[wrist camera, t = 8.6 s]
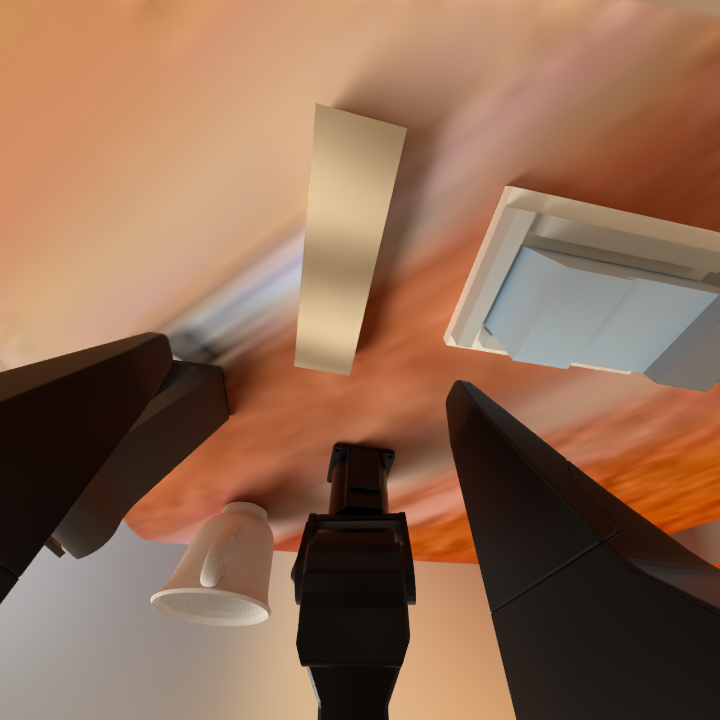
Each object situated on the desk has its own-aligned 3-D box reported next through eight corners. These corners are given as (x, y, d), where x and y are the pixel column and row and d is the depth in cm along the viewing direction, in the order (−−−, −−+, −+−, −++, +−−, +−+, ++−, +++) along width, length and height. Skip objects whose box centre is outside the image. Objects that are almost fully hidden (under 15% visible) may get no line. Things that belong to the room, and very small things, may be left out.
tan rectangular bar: (351, 353, 22) (349, 375, 20) (302, 344, 22) (294, 366, 19) (400, 135, 14) (407, 127, 12) (324, 115, 14) (316, 103, 11)
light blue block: (480, 319, 19) (512, 360, 15) (516, 242, 16) (569, 267, 12) (635, 346, 20) (706, 391, 16) (695, 279, 17) (799, 314, 13)
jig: (736, 237, 17) (789, 246, 15) (619, 367, 22) (645, 387, 20) (505, 185, 15) (527, 187, 13) (443, 338, 21) (451, 356, 19)
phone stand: (131, 404, 25) (-18, 552, 15) (108, 350, 22) (-101, 496, 12) (230, 416, 26) (149, 565, 16) (223, 366, 23) (115, 516, 13)
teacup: (298, 482, 32) (275, 588, 24) (287, 537, 41) (268, 629, 32) (191, 467, 31) (128, 574, 23) (203, 527, 39) (160, 621, 31)
